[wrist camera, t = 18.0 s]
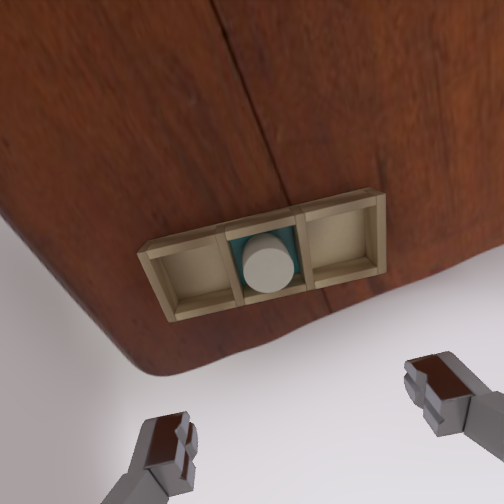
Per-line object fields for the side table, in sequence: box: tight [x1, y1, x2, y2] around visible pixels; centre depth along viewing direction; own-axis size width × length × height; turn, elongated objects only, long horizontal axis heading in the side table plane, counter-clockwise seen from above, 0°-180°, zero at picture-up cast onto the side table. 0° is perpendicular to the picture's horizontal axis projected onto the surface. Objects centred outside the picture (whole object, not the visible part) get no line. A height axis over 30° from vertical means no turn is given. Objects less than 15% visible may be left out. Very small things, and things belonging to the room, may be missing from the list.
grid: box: [137, 187, 386, 323], centre depth 20 cm, size 18×6×2 cm, turn 103°
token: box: [242, 233, 294, 293], centre depth 20 cm, size 4×4×3 cm
